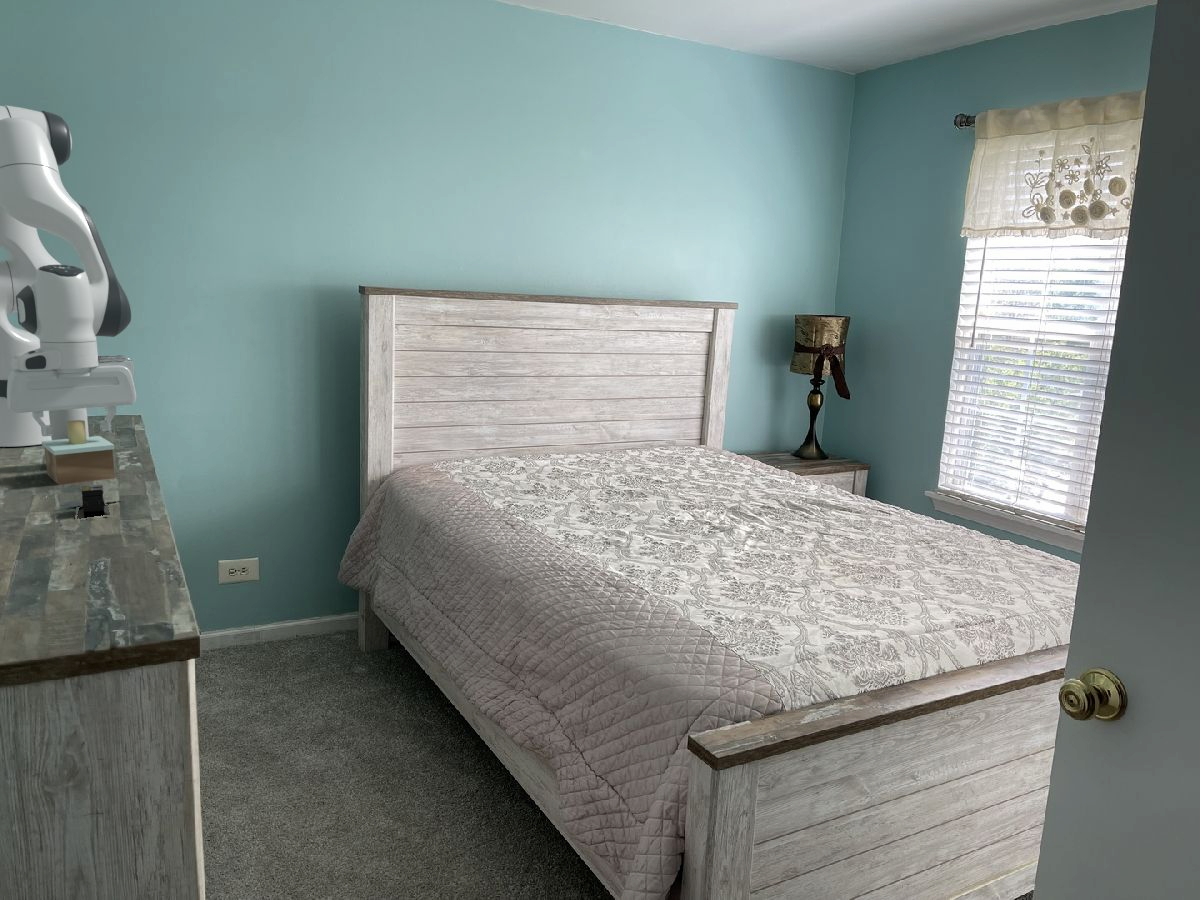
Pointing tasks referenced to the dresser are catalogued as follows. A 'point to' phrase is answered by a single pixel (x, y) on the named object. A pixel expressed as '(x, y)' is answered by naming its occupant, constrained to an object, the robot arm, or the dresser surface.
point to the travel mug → (62, 417)
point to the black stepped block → (93, 502)
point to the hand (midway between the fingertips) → (77, 433)
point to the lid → (77, 441)
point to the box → (80, 466)
